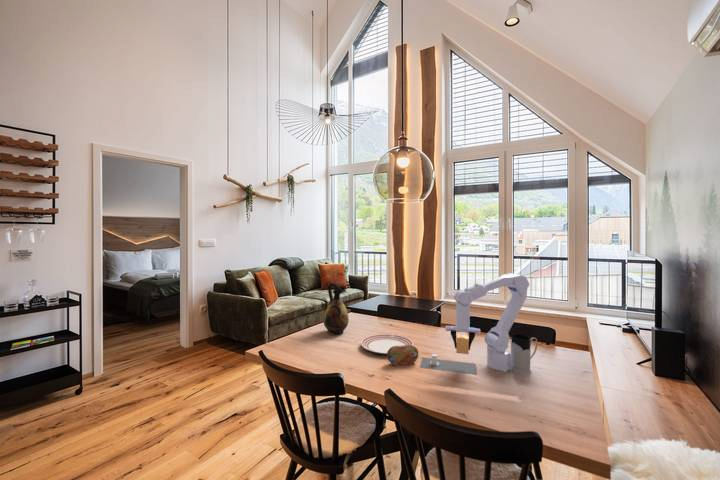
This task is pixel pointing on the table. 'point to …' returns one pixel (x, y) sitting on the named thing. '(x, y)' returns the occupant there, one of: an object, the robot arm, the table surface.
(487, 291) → the robot arm
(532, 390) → the table surface
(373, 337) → the dinner plate
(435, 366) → the mat
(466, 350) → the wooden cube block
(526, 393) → the table surface
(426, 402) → the table surface
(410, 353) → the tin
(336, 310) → the ceramic jug
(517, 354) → the grey mug
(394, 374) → the table surface
